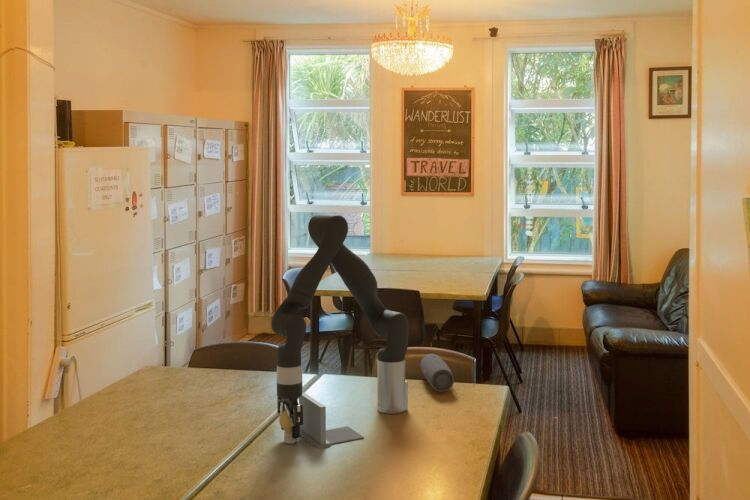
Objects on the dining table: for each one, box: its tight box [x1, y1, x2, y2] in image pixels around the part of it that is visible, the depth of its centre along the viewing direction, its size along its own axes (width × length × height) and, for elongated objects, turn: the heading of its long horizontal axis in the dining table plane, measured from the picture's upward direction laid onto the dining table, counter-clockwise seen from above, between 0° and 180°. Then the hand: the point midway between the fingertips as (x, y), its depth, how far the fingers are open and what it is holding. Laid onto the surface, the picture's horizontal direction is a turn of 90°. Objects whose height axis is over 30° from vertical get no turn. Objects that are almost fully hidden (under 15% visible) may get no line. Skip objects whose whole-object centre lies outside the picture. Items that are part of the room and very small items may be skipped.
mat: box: [326, 425, 365, 446], centre depth 239 cm, size 11×11×1 cm
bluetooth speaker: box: [420, 353, 455, 393], centre depth 290 cm, size 23×9×10 cm, turn 6°
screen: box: [298, 391, 331, 449], centre depth 237 cm, size 4×17×12 cm, turn 28°
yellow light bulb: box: [278, 411, 300, 445], centre depth 233 cm, size 6×6×10 cm
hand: (290, 433), depth 234 cm, fingers open, 8 cm apart
